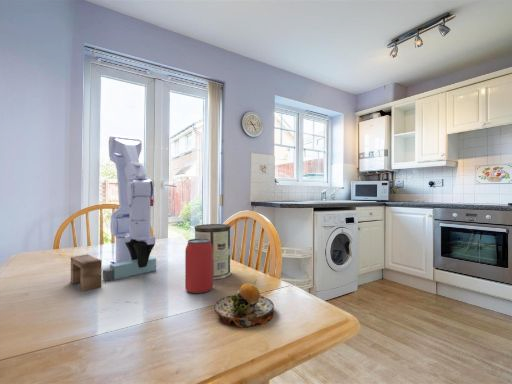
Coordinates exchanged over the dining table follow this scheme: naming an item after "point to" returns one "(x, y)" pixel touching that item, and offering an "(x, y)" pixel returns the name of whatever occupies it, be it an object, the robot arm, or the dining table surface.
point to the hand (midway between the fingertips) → (139, 265)
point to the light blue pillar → (128, 269)
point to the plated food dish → (245, 307)
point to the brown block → (86, 271)
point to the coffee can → (217, 246)
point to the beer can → (199, 266)
